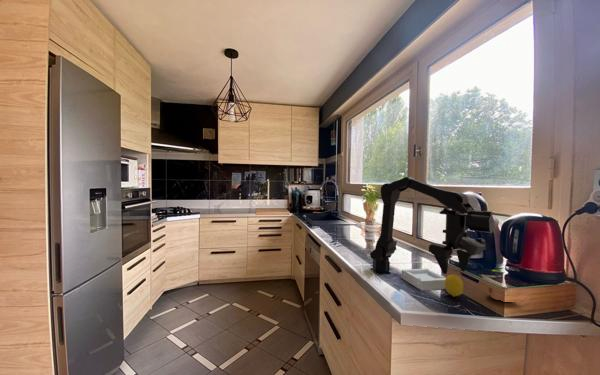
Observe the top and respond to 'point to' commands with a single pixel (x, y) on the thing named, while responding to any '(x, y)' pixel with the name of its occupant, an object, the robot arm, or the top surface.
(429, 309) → the top surface
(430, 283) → the white square tray
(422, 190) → the robot arm
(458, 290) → the lemon
